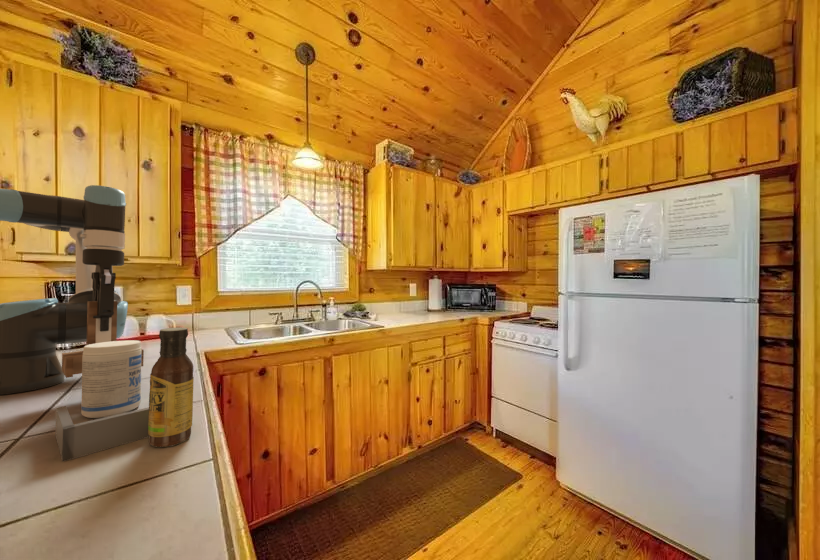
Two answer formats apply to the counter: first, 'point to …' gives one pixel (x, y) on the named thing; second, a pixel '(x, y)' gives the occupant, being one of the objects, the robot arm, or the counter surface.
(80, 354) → the wooden bracket
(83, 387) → the supplement tub
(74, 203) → the robot arm
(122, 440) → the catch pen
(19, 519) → the counter surface
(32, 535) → the counter surface
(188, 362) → the sauce bottle
